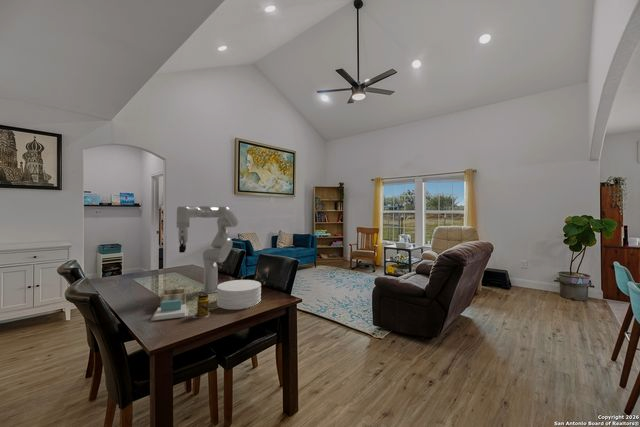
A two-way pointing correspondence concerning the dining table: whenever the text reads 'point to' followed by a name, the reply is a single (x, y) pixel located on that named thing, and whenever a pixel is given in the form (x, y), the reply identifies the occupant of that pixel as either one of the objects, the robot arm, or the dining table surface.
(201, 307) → the condiment
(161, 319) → the mat
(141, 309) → the dining table surface
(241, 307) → the plate stack
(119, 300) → the dining table surface
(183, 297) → the crate
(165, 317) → the lid
